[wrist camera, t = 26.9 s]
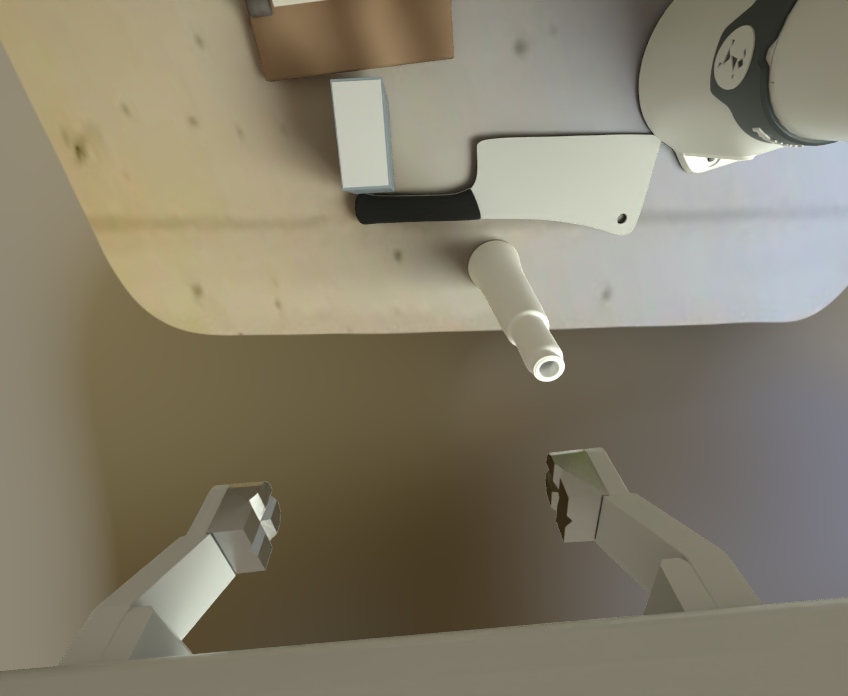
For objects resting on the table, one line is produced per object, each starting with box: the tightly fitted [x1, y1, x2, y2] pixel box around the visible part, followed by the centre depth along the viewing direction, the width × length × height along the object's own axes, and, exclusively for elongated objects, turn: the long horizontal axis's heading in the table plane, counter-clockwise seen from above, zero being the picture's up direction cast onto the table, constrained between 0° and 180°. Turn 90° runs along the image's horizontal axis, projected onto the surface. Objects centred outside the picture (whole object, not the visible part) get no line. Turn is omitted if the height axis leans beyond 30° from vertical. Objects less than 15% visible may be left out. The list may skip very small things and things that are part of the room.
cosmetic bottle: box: [468, 240, 565, 381], centre depth 38 cm, size 6×6×22 cm
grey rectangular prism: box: [330, 77, 395, 194], centre depth 36 cm, size 4×8×8 cm
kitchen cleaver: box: [355, 134, 661, 235], centre depth 42 cm, size 31×2×10 cm
